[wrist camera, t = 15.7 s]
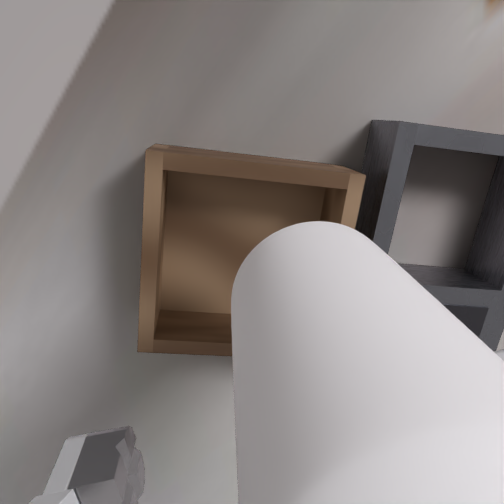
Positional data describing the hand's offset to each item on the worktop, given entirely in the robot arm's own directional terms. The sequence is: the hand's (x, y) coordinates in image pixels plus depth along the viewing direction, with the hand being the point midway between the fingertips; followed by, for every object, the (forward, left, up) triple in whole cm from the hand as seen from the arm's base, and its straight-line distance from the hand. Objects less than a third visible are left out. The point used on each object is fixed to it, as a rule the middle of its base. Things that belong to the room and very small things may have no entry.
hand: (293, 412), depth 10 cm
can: (0, +2, -7) cm, 7 cm away
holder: (0, 0, -15) cm, 15 cm away
